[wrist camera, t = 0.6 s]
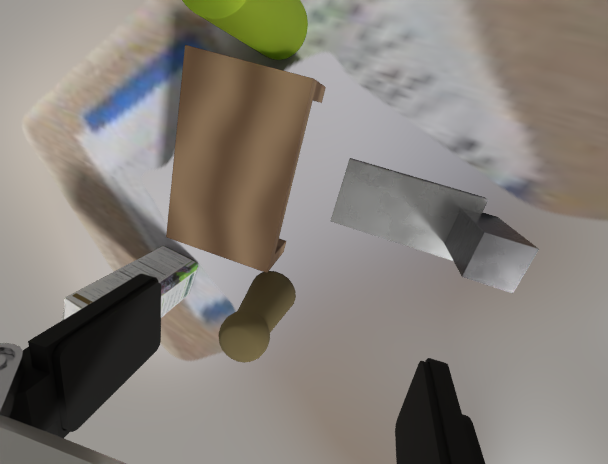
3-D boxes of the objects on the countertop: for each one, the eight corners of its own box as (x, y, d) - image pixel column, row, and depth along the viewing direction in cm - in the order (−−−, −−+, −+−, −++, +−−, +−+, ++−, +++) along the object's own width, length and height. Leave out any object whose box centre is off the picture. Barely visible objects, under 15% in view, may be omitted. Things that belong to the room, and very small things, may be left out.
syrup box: (189, 295, 44) (105, 369, 31) (153, 277, 45) (55, 341, 31) (199, 262, 42) (114, 326, 28) (161, 243, 42) (60, 297, 29)
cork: (242, 289, 42) (197, 341, 31) (271, 262, 39) (233, 308, 29) (274, 320, 42) (240, 382, 32) (305, 295, 40) (279, 353, 30)
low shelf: (325, 87, 32) (313, 78, 26) (283, 251, 38) (267, 272, 33) (217, 58, 33) (185, 44, 28) (196, 221, 40) (166, 237, 34)
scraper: (505, 203, 31) (549, 230, 23) (473, 263, 34) (503, 308, 25) (350, 158, 33) (340, 168, 25) (332, 218, 36) (317, 246, 27)
